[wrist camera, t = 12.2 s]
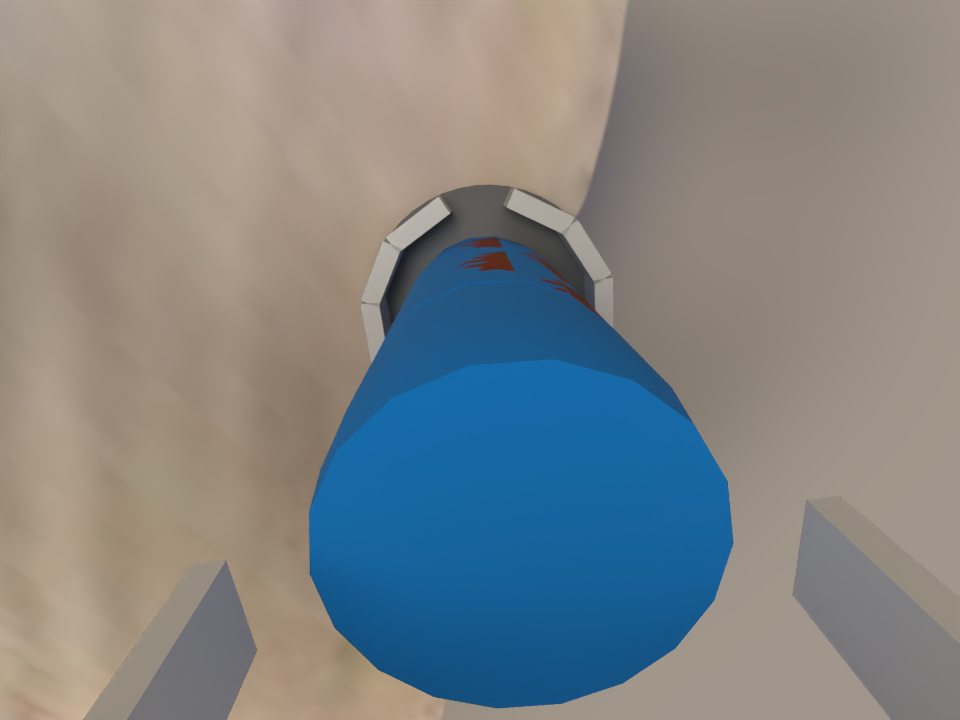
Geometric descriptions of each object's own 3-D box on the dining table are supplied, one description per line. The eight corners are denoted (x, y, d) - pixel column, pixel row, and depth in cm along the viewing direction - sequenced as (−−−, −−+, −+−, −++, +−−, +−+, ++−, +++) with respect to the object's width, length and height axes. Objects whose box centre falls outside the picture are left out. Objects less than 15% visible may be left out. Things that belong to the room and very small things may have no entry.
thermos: (483, 407, 38) (507, 766, 15) (379, 310, 36) (206, 560, 12) (592, 311, 36) (825, 555, 13) (489, 198, 33) (542, 242, 10)
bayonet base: (390, 422, 40) (382, 447, 36) (350, 199, 34) (336, 201, 30) (604, 400, 40) (619, 423, 36) (600, 171, 34) (616, 170, 30)
